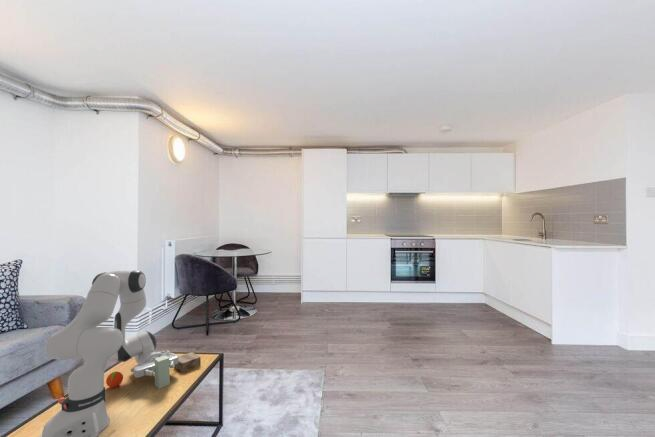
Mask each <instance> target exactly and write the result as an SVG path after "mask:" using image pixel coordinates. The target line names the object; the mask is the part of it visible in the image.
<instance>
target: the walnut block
mask: <svg viewBox="0 0 655 437" xmlns="http://www.w3.org/2000/svg"><path fill="white" fill-rule="evenodd" d="M178 357H179V362H178V364H175V365H174V368H176V369H177V370H179V371H181V373H184V372H186V371H188V370H191V369H194V368H196V366H197V367H198V366H201V363H202V362H201V356H200V355H198V354H196V353H195V352H193V351H190V352H187V353H184V354H183V355H179V356H178Z"/></svg>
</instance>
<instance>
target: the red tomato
mask: <svg viewBox="0 0 655 437" xmlns="http://www.w3.org/2000/svg"><path fill="white" fill-rule="evenodd" d="M123 380H124V375H123V373H121V372H120V371H113V372H111V373H110V374H109V375H108V376H107V377H106V380H105V383H106V386H107V387H109V388H116V387H118V386H120V385H121V384H122V382H123Z"/></svg>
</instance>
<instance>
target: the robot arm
mask: <svg viewBox="0 0 655 437" xmlns="http://www.w3.org/2000/svg"><path fill="white" fill-rule="evenodd" d="M146 282H147V278H146V275H145V273H144V272H143V271H141V270H115V271H114V270H113V271H109V272H101V273H98V274H97V275H95V276H94V278H93V279H92V282H91V287H90V289H89V290H88V293H87V295H86V298H85V300H84V302H83V304H82V306H81V308H80V311H79V312H78V313H77V315H76V316H75V317H74V318H73V319H72V320H71V321H70V322H69V323H67V325H66V326H64V327H63V328H61V329H59V330H57V331H56V332H54V333H52V334H51V336H49V337H48V339H47V340H46V342H45V345H44V353H45V355H46V357H47V358H48V359H50V360H51V359H52V360H58V361H59V360H60V361H66V360H78V359H79V360H81V359H83V364H82V365H80V366H79V367H78V368H76V369H74V370H73V371H72V372H71V373H70V375H69V377H68V379H67V386H68V387H67V393H68V394H67V395H68V396H66V397H64V396H63V397H62V396H61V397H60V398H59V399H58V400H57V403H58V404H59V405H61V409H60V410H58V411H57V413H55V414H54V416H52V417H51V418H50V419H49V420H48V421H47V422H45V425H44V427H43V429H42V433H41V434H40V435H39V436H38V437H98V436H99V434H100V433H101V432H102V431H103V430H105V428H107V427H108V426H109V424H110V422H111V421H110V417H109V414H108V412H107V407H106V398H107V391H106V386H105V381H104V380H105V369H106V366H107V363H108V362H109V360H110V359H111V358H112V356H114V358H115V360H116V361H117V362H121V363H122V362H123V363H125V362H127V361H129V360H132V358H134V361H135V362H136V363H137V364H136V365H134V366H133V367H132V368H130V372H131V373H133V376H134V377H135V378H142V377H144V376H150V377H152V376H153V375H154V376H155V364H154V359H155V358H158V357H161V356H164V355H166V356H167V357H168V358H169V369H173V368H175V366H174V365H175V364H178V362H179V356H178V355H177V354H175V353H173V352H171V351H170V350H163V351H155V350H156V348H157V340H156V337H155V336H154V334H153V333H152V332H150V331H148V330H144V331H142V332H140V333H138V334H136V335H134V336H131V337H129V338H128V339H126V327H127V325H128V324H129V323H130V322H131V321H132V320H134V319H135V318H136V317H137V316H139V315H140V314H141V313H142V312H143V311H144V309H145V308H146V305H147V298H146V293H145V290H144V289H145V286H146ZM118 297H119V301H120V302H119V303H120V305H119V306H120V307H119V309H118V311H117V312H116V314H115V316H114V324H113V325H114V327H107V326H103V327H98V326H100V325H101V324H102V323H105V322H106V321H108V320H109V319H111V317H112V316H113V314H114V309H115V307H116V304H117V301H118Z"/></svg>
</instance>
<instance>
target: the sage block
mask: <svg viewBox="0 0 655 437" xmlns="http://www.w3.org/2000/svg"><path fill="white" fill-rule="evenodd" d="M154 364H155V372H154V386H155V387H156V388H157V389H161V388H164V387H166V386H169V385H170V383H171V382H170V380H171V378H170V376H171V375H170V373H171V372H170V367H169V358H168V357H167V356H166V355H164V356H161V357H158V358H155V359H154Z"/></svg>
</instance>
